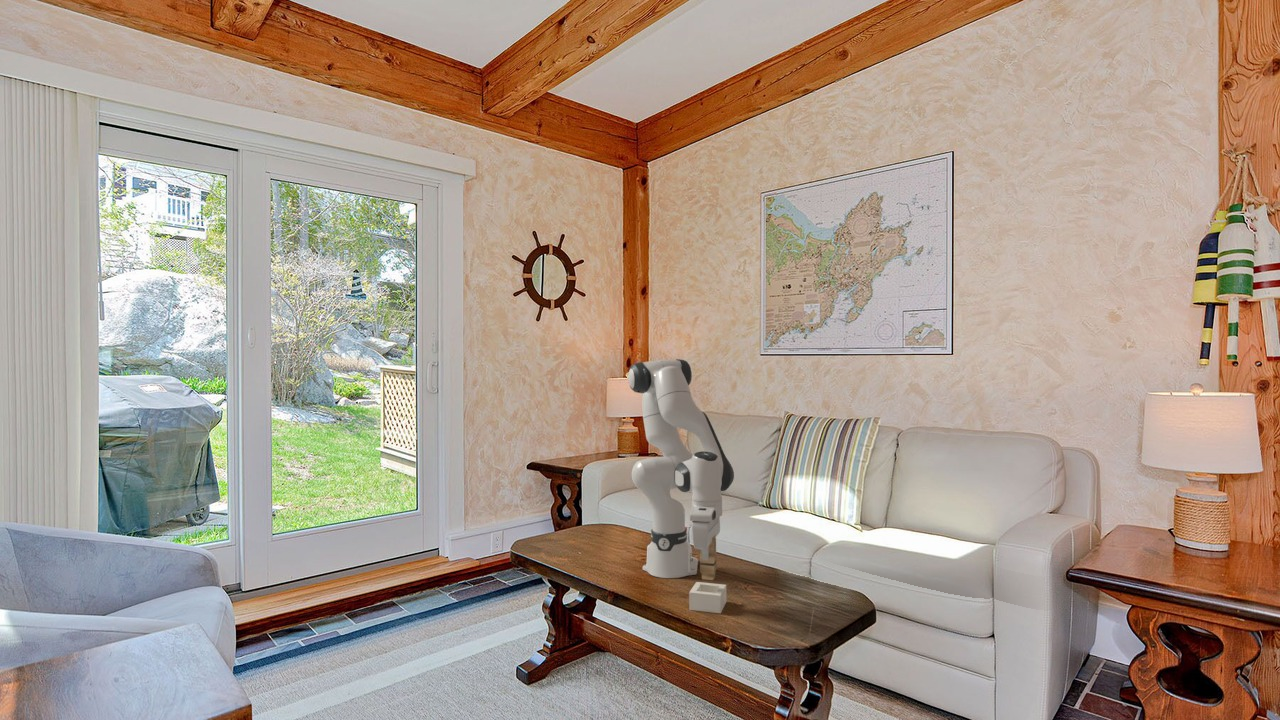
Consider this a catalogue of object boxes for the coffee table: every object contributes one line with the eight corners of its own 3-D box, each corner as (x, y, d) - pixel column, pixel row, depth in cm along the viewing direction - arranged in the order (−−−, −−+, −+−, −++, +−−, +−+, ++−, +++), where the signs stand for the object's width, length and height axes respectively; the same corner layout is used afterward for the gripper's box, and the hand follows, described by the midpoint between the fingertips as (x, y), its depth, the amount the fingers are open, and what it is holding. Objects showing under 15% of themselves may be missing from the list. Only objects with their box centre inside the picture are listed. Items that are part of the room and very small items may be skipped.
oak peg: (703, 575, 187) (702, 534, 187) (716, 576, 185) (716, 534, 186) (700, 579, 183) (699, 537, 183) (714, 580, 182) (713, 538, 182)
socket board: (696, 598, 190) (696, 581, 190) (726, 601, 187) (726, 584, 187) (689, 609, 182) (689, 592, 182) (720, 613, 179) (720, 595, 179)
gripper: (704, 501, 195) (705, 546, 195) (687, 516, 176) (688, 566, 176) (724, 502, 193) (725, 547, 193) (710, 517, 174) (711, 568, 174)
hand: (707, 556), depth 184 cm, fingers closed on oak peg, 4 cm apart
